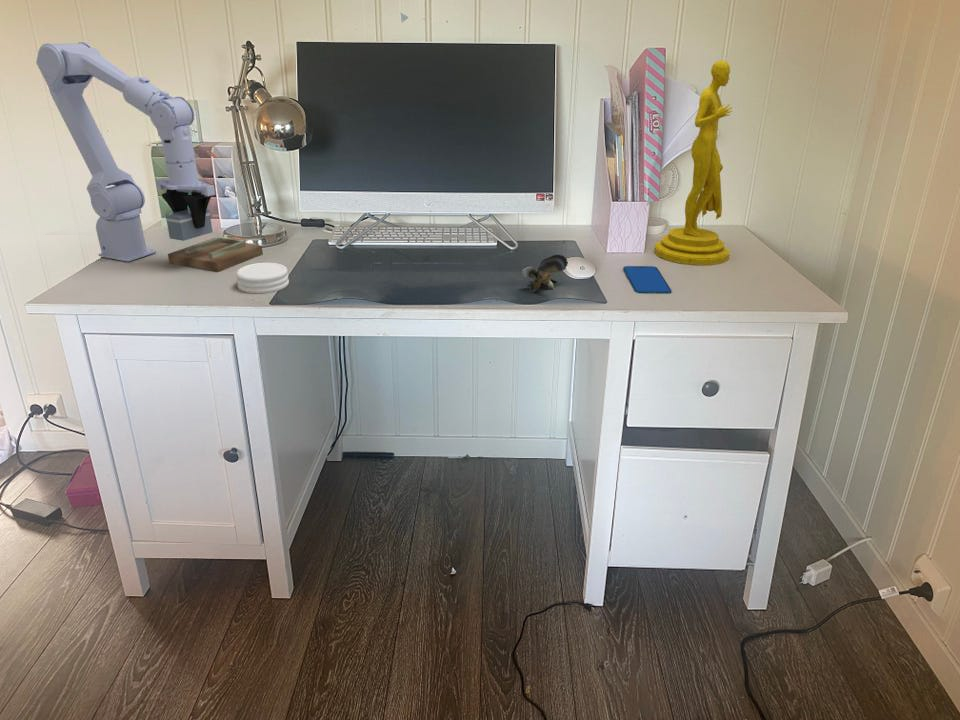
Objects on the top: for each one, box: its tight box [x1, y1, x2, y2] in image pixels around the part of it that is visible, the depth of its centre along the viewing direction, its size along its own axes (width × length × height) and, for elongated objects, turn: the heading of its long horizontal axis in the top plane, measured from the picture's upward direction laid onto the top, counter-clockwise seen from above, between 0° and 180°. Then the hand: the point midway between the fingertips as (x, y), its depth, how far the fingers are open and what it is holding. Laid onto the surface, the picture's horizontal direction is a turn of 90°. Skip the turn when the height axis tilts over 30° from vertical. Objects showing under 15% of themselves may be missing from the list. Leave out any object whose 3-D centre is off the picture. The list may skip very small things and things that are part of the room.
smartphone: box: [622, 265, 672, 295], centre depth 146 cm, size 7×1×15 cm
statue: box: [653, 60, 733, 266], centre depth 154 cm, size 17×17×41 cm
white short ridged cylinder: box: [235, 262, 290, 294], centre depth 142 cm, size 10×10×4 cm
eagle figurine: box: [521, 254, 569, 293], centre depth 141 cm, size 8×7×9 cm
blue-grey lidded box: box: [165, 208, 213, 242], centre depth 149 cm, size 4×8×5 cm, turn 154°
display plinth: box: [167, 236, 264, 273], centre depth 157 cm, size 14×14×3 cm
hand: (192, 226), depth 150 cm, fingers closed on blue-grey lidded box, 4 cm apart
